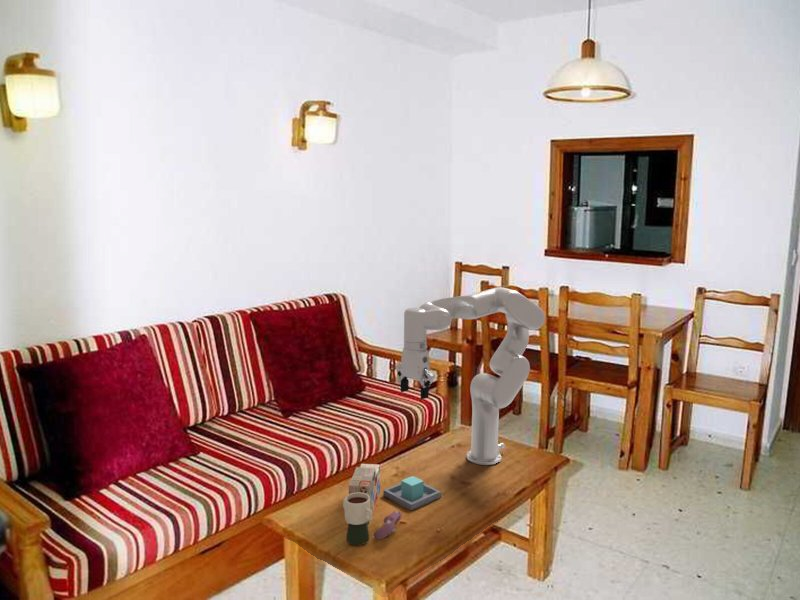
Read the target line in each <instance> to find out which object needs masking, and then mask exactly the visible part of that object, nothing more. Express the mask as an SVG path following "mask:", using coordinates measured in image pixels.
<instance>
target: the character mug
mask: <svg viewBox="0 0 800 600" xmlns="http://www.w3.org/2000/svg"><path fill="white" fill-rule="evenodd" d="M342 506H343V507H342V508H343V509H344V519H345V522H346V523H347V529H346V530H347V531H346V538H345V539H346V542H347V543H348V544H350V545H352V546H358V545H363V544H365V543H368V542H369V540H370V537H369V536H370V535H369V528H368V526H369V525H368V524H367V521H370V522H372V521H373V515H372V510H371V504H370V496H369V495H368V494H366V493H362V492H356V493H351V494H349V493H348V494H347V495H346V496H345V498H343V501H342Z"/></svg>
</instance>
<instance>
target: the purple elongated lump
mask: <svg viewBox="0 0 800 600" xmlns="http://www.w3.org/2000/svg"><path fill="white" fill-rule="evenodd" d="M402 516H403V513H401V512H400V511H397V510H396V509H395V510H393V512H392V513H390V514H388V515H387V516H385V517H384V520H383V522H384V524H383V525H382V526H381V527H379V528H378V529H377V530H376V531H374V533H373V537H374V538H375V539H379V540H380V539H381V540H382V539H384V538H385V537H389V536H390V535H391V533H394V532H395V531H396V528H397V527H396V526H397V524H398V522H400V521H401V518H402Z"/></svg>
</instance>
